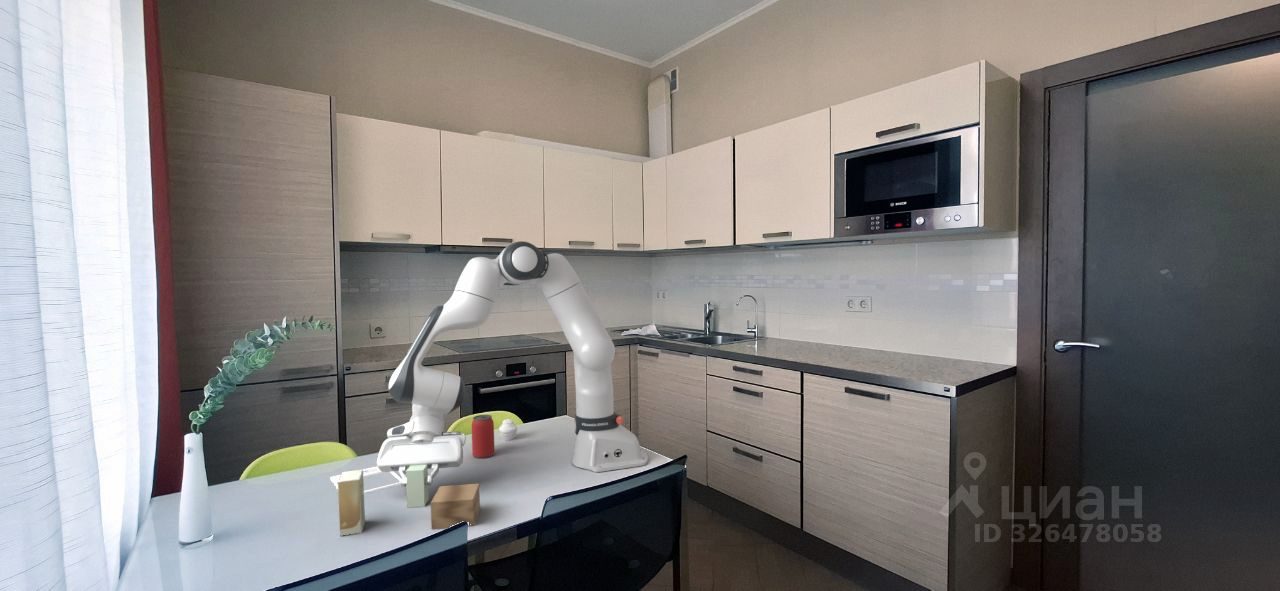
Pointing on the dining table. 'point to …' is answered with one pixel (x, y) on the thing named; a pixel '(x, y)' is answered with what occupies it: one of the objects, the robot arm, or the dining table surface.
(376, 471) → the photo frame
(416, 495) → the sage pillar
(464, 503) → the walnut block
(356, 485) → the skincare box
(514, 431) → the muffin
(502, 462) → the dining table surface
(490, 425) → the beer can
